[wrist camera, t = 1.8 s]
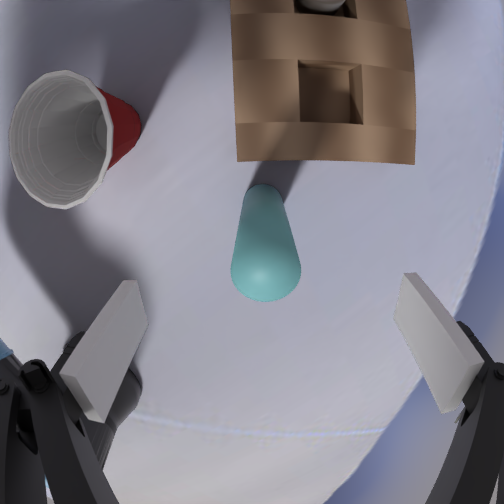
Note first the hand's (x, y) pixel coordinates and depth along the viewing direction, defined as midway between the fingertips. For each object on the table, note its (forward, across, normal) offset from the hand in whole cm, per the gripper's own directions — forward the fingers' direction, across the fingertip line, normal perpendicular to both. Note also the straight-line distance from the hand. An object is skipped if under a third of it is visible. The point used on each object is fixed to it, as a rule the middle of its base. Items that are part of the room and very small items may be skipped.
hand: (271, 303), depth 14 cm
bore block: (+18, +6, +16) cm, 25 cm away
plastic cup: (+18, -15, +9) cm, 26 cm away
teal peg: (+18, 0, 0) cm, 18 cm away
